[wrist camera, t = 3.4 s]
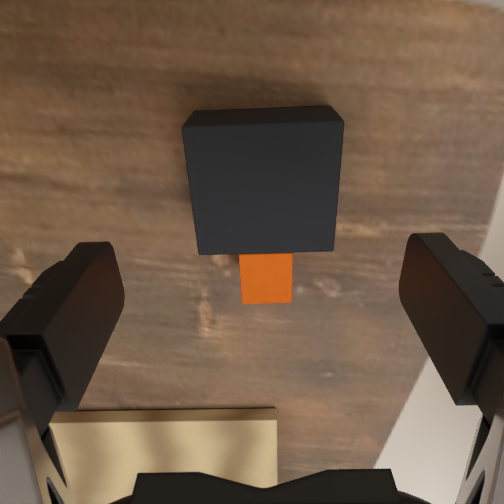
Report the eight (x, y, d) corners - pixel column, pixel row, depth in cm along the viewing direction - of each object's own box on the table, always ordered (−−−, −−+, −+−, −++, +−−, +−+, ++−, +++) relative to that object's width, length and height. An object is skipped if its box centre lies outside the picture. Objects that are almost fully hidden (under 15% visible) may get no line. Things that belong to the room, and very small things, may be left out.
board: (276, 407, 27) (277, 420, 26) (277, 542, 38) (278, 554, 37) (15, 411, 27) (7, 424, 26) (91, 542, 38) (87, 554, 37)
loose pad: (331, 105, 16) (344, 119, 14) (320, 267, 20) (329, 302, 18) (192, 110, 16) (180, 126, 14) (211, 270, 21) (204, 305, 18)
